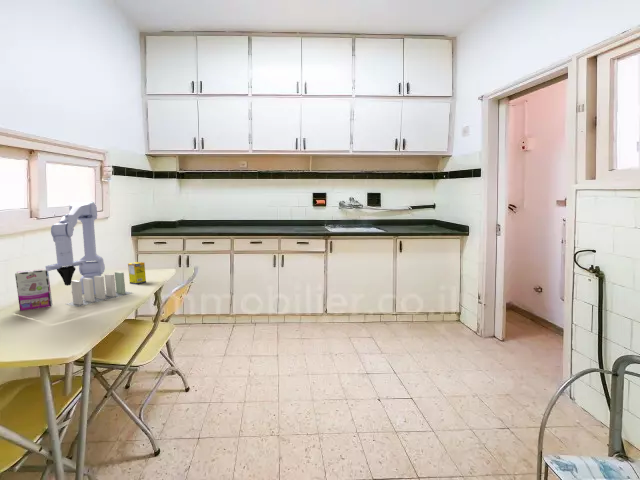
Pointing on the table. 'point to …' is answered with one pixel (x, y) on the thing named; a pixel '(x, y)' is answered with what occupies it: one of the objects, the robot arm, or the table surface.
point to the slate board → (98, 299)
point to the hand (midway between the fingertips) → (67, 285)
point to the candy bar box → (33, 289)
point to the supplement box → (137, 273)
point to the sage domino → (120, 282)
